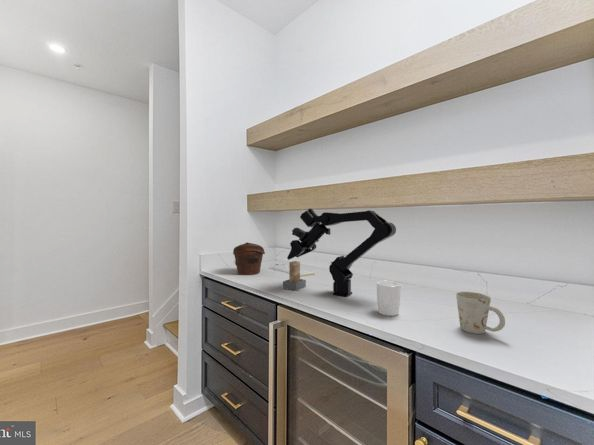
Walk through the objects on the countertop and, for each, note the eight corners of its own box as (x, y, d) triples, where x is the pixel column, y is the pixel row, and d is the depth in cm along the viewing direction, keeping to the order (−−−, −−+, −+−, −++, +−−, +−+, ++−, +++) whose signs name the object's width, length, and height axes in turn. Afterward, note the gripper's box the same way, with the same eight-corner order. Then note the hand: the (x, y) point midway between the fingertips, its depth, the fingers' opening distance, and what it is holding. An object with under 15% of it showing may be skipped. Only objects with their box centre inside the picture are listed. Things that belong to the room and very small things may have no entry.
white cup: (378, 316, 91) (378, 285, 91) (374, 308, 98) (375, 280, 98) (403, 317, 90) (403, 286, 89) (397, 309, 97) (398, 281, 97)
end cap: (305, 286, 129) (305, 279, 129) (296, 290, 122) (296, 283, 122) (293, 284, 133) (293, 277, 133) (282, 288, 126) (282, 281, 126)
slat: (299, 285, 129) (300, 261, 128) (295, 287, 125) (295, 262, 125) (294, 284, 130) (294, 261, 130) (289, 286, 126) (289, 262, 126)
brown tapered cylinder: (249, 268, 175) (249, 240, 174) (271, 272, 162) (271, 242, 161) (225, 273, 161) (225, 242, 161) (247, 278, 148) (247, 244, 148)
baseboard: (298, 278, 150) (314, 275, 158) (298, 272, 150) (315, 270, 157) (268, 269, 175) (284, 267, 182) (268, 265, 175) (284, 263, 182)
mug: (466, 322, 85) (466, 290, 85) (513, 338, 74) (514, 301, 74) (449, 327, 81) (450, 293, 81) (497, 344, 70) (497, 305, 70)
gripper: (310, 221, 134) (289, 243, 139) (294, 221, 117) (271, 246, 122) (325, 238, 131) (304, 260, 136) (311, 240, 114) (287, 265, 119)
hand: (292, 257), depth 128 cm, fingers open, 9 cm apart
